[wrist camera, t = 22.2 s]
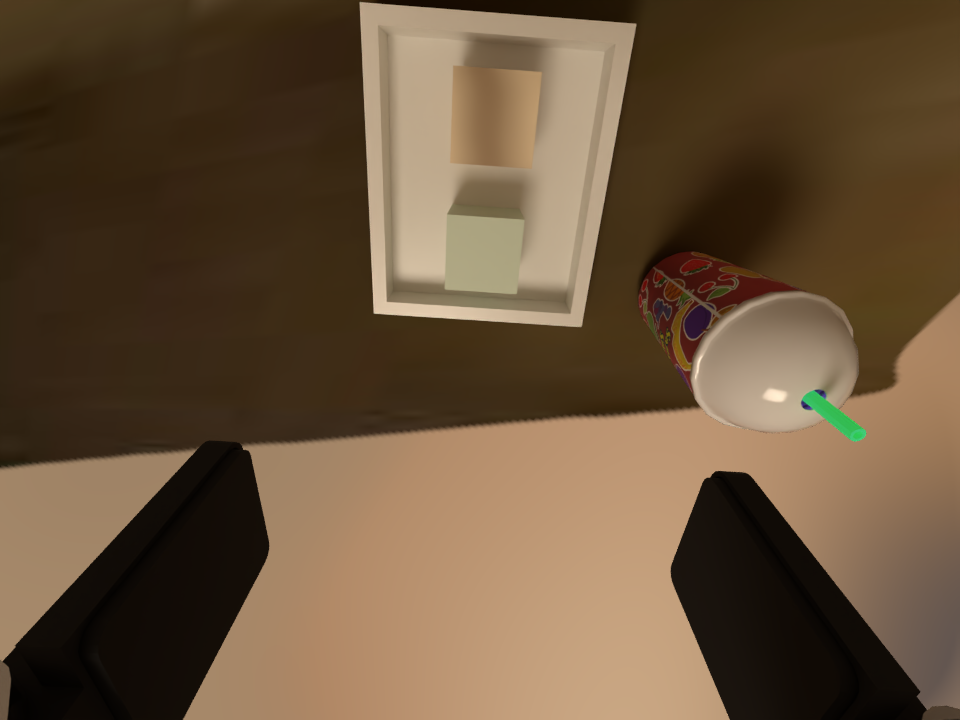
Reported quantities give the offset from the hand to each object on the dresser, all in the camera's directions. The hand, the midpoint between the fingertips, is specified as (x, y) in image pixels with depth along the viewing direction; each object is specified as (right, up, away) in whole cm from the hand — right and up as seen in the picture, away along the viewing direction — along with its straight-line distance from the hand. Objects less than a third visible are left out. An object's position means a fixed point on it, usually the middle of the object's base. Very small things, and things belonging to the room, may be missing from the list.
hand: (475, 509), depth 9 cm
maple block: (+1, +19, +21) cm, 29 cm away
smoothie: (+16, +9, +27) cm, 33 cm away
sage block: (0, +12, +25) cm, 28 cm away
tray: (+1, +16, +23) cm, 29 cm away
